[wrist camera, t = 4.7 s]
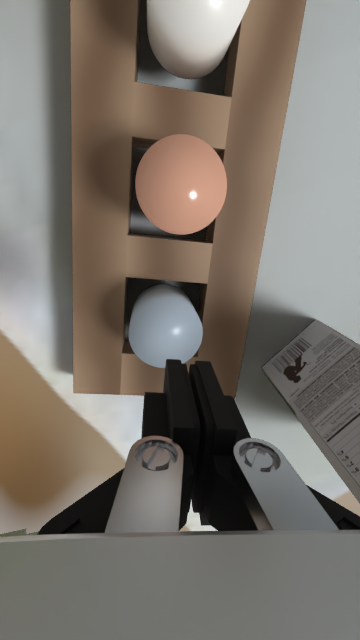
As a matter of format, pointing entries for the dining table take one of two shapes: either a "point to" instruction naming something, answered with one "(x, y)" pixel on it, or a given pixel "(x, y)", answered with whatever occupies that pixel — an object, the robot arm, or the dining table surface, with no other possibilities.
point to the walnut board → (116, 185)
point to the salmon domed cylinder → (181, 184)
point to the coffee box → (324, 394)
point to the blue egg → (164, 326)
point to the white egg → (192, 33)
